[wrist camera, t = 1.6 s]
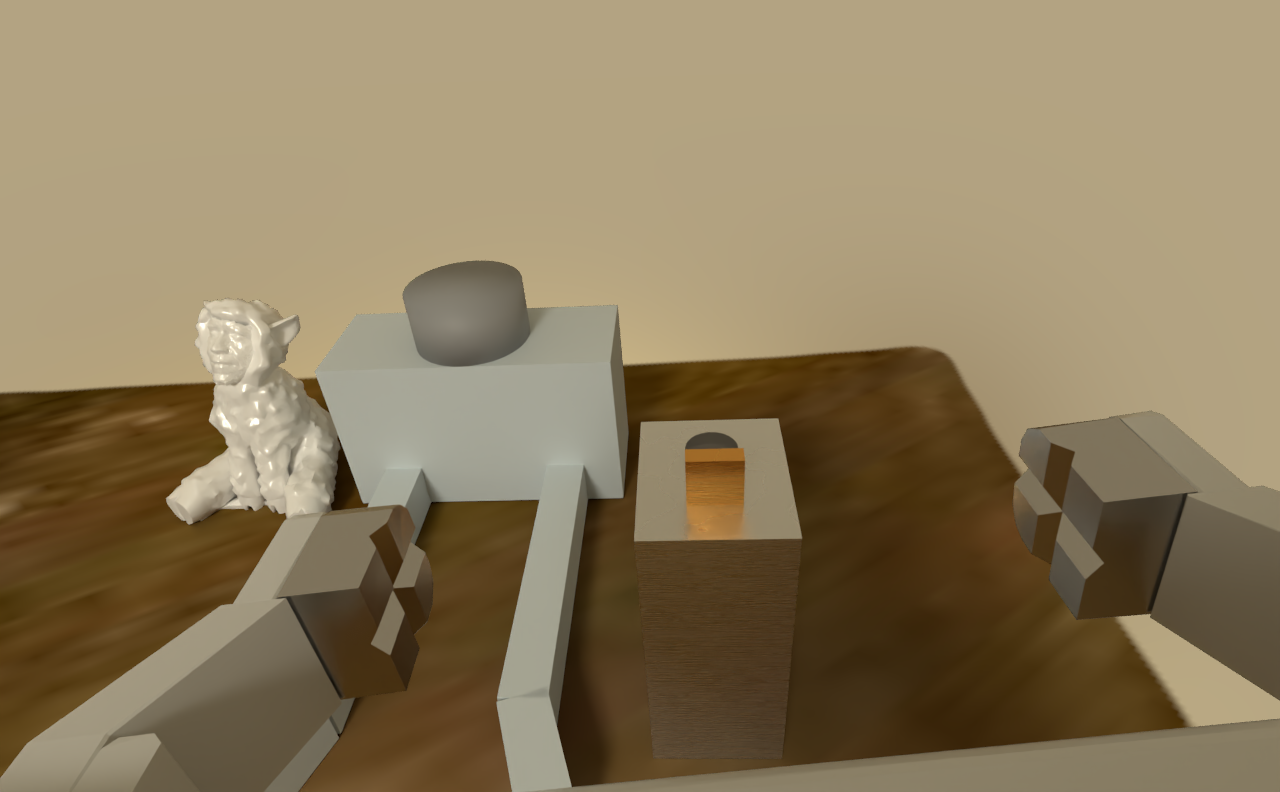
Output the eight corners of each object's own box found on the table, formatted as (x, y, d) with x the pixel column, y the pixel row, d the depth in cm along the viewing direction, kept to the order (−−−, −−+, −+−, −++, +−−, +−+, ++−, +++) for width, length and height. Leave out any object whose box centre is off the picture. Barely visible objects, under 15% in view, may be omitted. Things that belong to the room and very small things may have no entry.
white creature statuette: (168, 527, 42) (61, 344, 35) (257, 434, 49) (183, 267, 42) (319, 541, 40) (238, 352, 33) (390, 443, 47) (335, 270, 40)
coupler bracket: (184, 860, 27) (3, 655, 20) (395, 438, 47) (341, 266, 40) (594, 865, 26) (550, 651, 19) (628, 432, 46) (613, 255, 40)
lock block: (653, 758, 29) (629, 497, 21) (656, 631, 34) (638, 381, 26) (782, 758, 29) (806, 492, 21) (766, 630, 34) (780, 377, 26)
